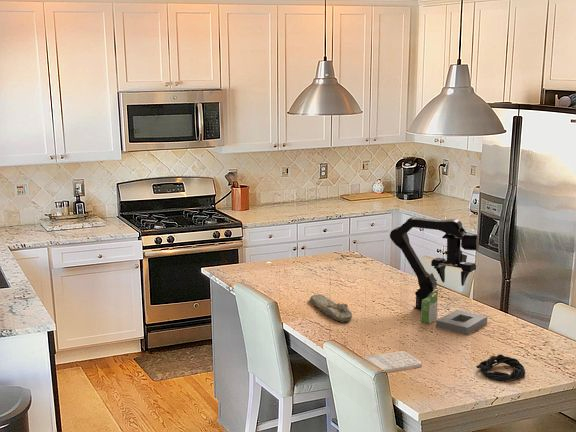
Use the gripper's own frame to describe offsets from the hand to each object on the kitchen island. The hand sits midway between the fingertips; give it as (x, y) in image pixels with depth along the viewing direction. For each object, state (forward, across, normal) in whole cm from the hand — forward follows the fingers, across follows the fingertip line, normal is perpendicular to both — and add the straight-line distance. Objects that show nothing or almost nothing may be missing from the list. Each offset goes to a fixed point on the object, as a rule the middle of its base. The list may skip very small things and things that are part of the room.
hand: (453, 284), depth 319 cm
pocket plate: (+13, -11, +12) cm, 21 cm away
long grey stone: (+12, +42, +33) cm, 55 cm away
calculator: (+14, -10, +66) cm, 68 cm away
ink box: (+13, +2, +16) cm, 21 cm away
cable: (+14, -45, +46) cm, 66 cm away
